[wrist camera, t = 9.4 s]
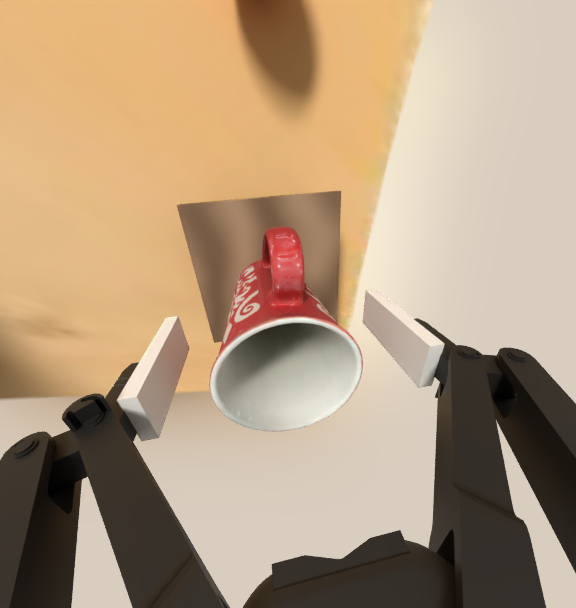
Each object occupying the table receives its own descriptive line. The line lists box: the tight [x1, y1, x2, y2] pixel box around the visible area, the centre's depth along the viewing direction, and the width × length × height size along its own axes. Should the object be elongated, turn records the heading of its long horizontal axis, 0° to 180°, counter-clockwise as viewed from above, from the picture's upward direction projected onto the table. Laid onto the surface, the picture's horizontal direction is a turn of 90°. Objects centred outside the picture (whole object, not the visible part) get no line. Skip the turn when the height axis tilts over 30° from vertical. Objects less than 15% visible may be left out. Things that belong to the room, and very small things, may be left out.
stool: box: [177, 191, 341, 343], centre depth 28 cm, size 15×15×8 cm
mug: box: [209, 227, 363, 432], centre depth 19 cm, size 13×9×14 cm
